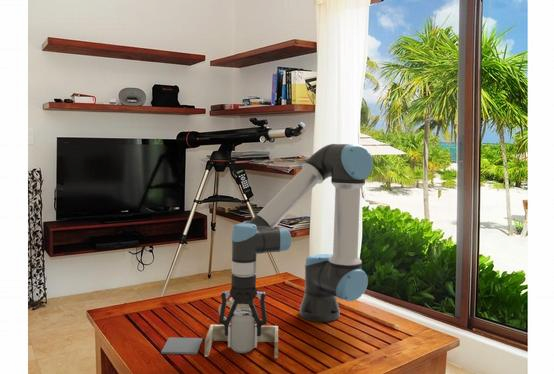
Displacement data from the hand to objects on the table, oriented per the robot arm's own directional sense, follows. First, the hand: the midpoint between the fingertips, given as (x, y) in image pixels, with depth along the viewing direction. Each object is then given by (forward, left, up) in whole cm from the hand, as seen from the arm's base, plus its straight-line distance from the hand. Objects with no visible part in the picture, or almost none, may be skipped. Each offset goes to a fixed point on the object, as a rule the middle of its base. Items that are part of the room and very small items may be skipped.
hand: (242, 345), depth 150 cm
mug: (+4, -19, -1) cm, 19 cm away
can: (0, 0, -1) cm, 1 cm away
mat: (+19, -1, -1) cm, 19 cm away
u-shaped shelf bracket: (0, 0, -1) cm, 1 cm away
